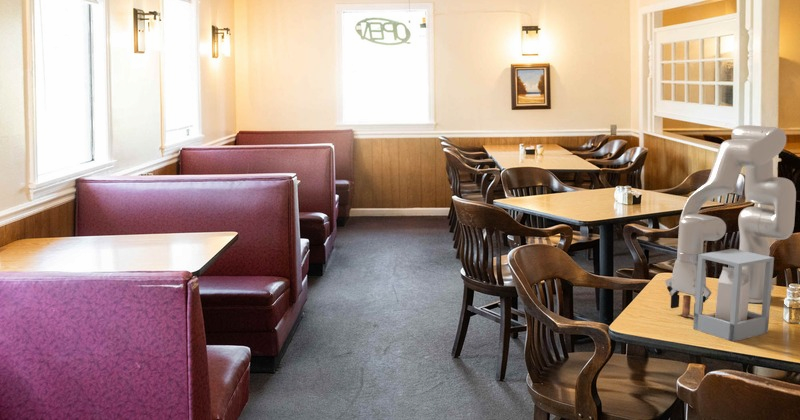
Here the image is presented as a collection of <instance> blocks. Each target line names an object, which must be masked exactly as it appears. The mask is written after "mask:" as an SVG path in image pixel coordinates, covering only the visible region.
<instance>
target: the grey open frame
mask: <svg viewBox="0 0 800 420" xmlns="http://www.w3.org/2000/svg"><path fill="white" fill-rule="evenodd" d="M706 261H711V262H715V263H719V264H722V265H723V264H724V265H728V267H729V268H734V275H733V288H732V301H731V314H730V322H728V321H724V320H721V319H718V318H714V317H711V316H708V314H705V313H703V311H702V304H703V305H704V303H703V295H704V294H703V289H704V275H705V271H706ZM774 261H775V257H774V256H770V255H769V256H765V255H760V254H755V253H751V252H746V251H742V250H739V249H737V248H729V249H724V250H718V251H717V250H716V251H710V252H703V254H698V268H697V282H696V297H695V298H694V304H695V311H694V310H693V316H694V318H693V327H692V328H693V330H695V329H696V331H699V332H702V333H706V334H709V335H711V336H715V337H718V338H720V339H724V340H726V341H730V342H739V341H741V340H745V339H749V338H753V337H757V336H761V335H765V334H768V333H769V322H770V312H771V311H770V310H771V300H772V299H771V298H772V290H771V288H772V285H773V275H774ZM765 262H766V267H765V279H764V291H763V303H761V314H760V313H758V312H754V311H750V310H748V313H747V315H748V316H751V317H755V318H754V319H749V320H745V321H741V322H738V313H739V300H740V287H741V275H742V267H743V266H748V265H754V264H759V263H765Z"/></svg>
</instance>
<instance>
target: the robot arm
mask: <svg viewBox="0 0 800 420" xmlns="http://www.w3.org/2000/svg"><path fill="white" fill-rule="evenodd" d="M730 136H731V137H730V138H731V139H726V140H723V141H722V143H720V145H719V147H718V151H717V153H716V156H715V159H714V161H713V164H712V167H711V170H710V172H709V176H708V179H707V180H706V182H705V183H704V184H702V185H701V186H700V187H698V188H697V189H696V190H695V191H694V192H692V194H691V195H690V196H689V197H688V198H687V200H686V201H685V204H684V205H683V208H682V211H681V214H680V217H679V221H678V236H677V237H678V240H677V251H676V253H677V255H676V256H677V257H676V259H675V261H674V263H673V265H674V266H673V268H672V275H671V277H669V278H667V279H665V281H664V282H665V285H666V288H667V290H668V292H669V295H670V309H676V308H679V307H680V295H679V294H680V293H682V294H685V295H689V296H693V298H694V299H695V297H696V282H697V268H698V254H704V241H719V240H720V239H722V238H723V237H724V236H725V234H726V232H727V224H726V222H725V221H724V220H723V219H722V218H720V217H717V216H712V215H707V214H701V213H699V212H700V210H701V208H702V207H703V206H704V205H705V204H706V203H707V202H709V201H711V200H712V199H713V200H714V199H715V198H718V197H721V196H724V195H727V194H730V193H732V192H734V190H735V189H736V185H737V183H738V180H739V177H740V174H741V171H742V168H745V171H744V172H745V173H744V174H745V175H744V198H745V200H746V201H748V202H750V203H753V204H759V205H764V206H771V207H772V206H773V207H774V208H767V207H762V206H747V207H745V208H743V209H742V210H741V211H740V212H739V215H738V219H737V220H738V221H737V222H738V231H739V232H738V233H739V248H738V250H742V251H746V252H751V253H755V254H760V255H765V256H769V257H770V255H771V254H770V253H771V252H770V251H771V250H770V249H771V248H770V245H769V242H768V241H767V238H769V239H773V240H774V239H775V240H787V239H789V238H790V237H791V236H792V235H793V232H794V229H795V228H794V227H795V217H796V201H797V191H796V187H795V183H794V182H793V181H792V180H790V178H789V179H788V178H786V177H780V176H779V177H778V176H774V160H773V159H774V158H775V157H777V156H778V155H779V154H781V152H782V151H783V150H784V148H785V147H786V144H787V135H786V132H785V131H784V130H783V129H781V128H779V127H776V126H775V127H774V126H765V125H764V126H763V125H762V126H761V125H750V124H749V125H748V124H747V125H746V124H745V125H738V126H736V127H733V129H732V131H731V135H730ZM765 267H766V262H765V263H759V264H754V265H748V266H743V267H742V270H747V275H748V277H749V280H750V288H749V300H748V303H750V304H751V303H752V304H754V303H755V304H762V303H763V291H764V279H765ZM774 289H775V287H774V285H773V284H772V288H771V291H773V290H774ZM711 295H712V290H710V289H709V287H708V286H707V273H706V270H705V275H704V289H703V304H702V312H703V310H704V309H703V308H704V303H706V301H708V299H709V298H710V296H711ZM693 306H694V307H693V312H694V311H695V303H694V305H693Z"/></svg>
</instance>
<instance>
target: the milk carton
mask: <svg viewBox="0 0 800 420" xmlns="http://www.w3.org/2000/svg"><path fill="white" fill-rule="evenodd" d="M733 275H734V268H729V266H728V267H727V266H722V270H721V273H720V275H719V278H718V281H717V290H716V291H717V292H716V305H715V313H716V315H715V318H718V319H721V320H724V321H728V322H730V314H731V301H732V288H733ZM749 288H750V280H749V277H748V275H747V270H742V275H741V287H740V300H739V313H738V322H741V321H745V320H747V313H748V311H749V302H748V300H749Z"/></svg>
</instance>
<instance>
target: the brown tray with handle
mask: <svg viewBox="0 0 800 420" xmlns="http://www.w3.org/2000/svg"><path fill="white" fill-rule="evenodd" d="M691 299H692V295H689V294H684V295H683V298H682V312H681V313H682V315H681V316H682V317H684V318H691V319H692V318H693V319H694V314H693V315H692V314H691V313H690V312H691ZM707 315H708V316H711V317H714V318H715V315H716V312H713V313H708V314H707ZM754 318H755V317H751V316H748V315H747V320H749V319H754Z"/></svg>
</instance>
